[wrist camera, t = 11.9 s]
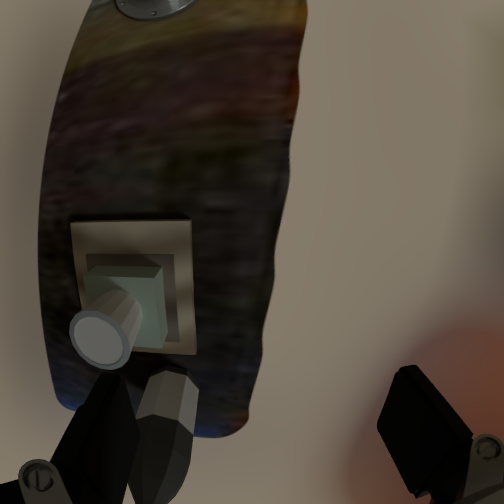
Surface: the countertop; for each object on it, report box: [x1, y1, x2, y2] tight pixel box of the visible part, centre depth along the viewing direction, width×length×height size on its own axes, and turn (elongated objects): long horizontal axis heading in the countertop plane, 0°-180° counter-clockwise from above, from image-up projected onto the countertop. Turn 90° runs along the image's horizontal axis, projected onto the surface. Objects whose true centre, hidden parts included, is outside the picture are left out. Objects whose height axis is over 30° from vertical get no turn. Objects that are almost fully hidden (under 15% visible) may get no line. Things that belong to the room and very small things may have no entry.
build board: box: [70, 219, 197, 355], centre depth 36 cm, size 18×16×2 cm
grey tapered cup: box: [69, 290, 143, 370], centre depth 28 cm, size 7×7×7 cm
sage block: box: [83, 265, 168, 348], centre depth 34 cm, size 9×9×4 cm
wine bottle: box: [128, 365, 199, 504], centre depth 27 cm, size 8×8×30 cm
